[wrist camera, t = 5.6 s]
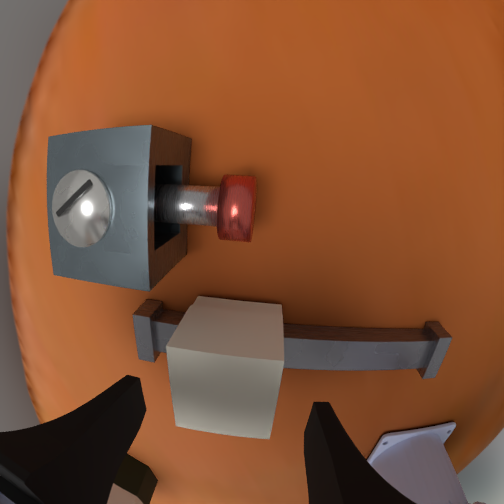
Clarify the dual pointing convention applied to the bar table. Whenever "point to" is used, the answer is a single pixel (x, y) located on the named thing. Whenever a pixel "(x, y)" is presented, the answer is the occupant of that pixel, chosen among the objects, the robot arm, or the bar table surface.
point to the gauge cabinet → (114, 204)
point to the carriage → (227, 366)
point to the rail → (318, 343)
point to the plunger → (210, 206)
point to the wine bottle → (132, 483)
